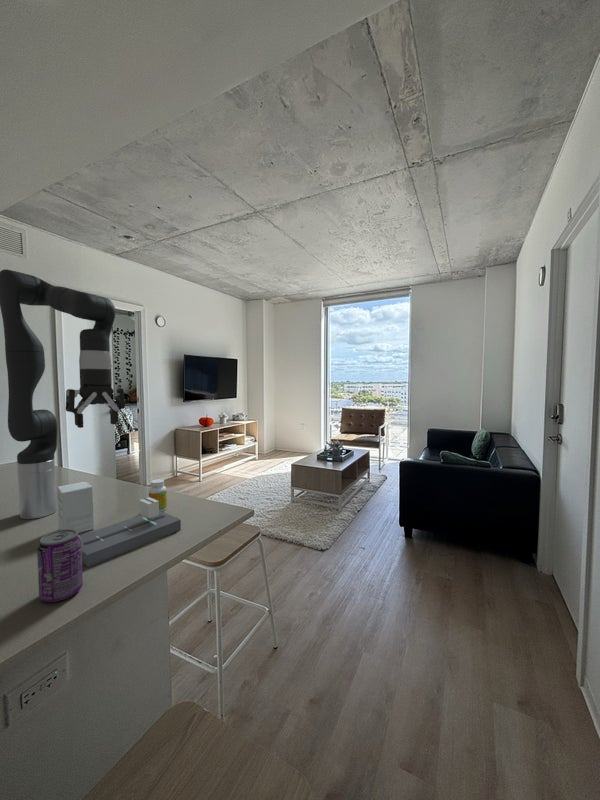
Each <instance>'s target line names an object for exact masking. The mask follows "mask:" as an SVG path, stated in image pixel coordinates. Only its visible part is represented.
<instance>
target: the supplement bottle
mask: <svg viewBox="0 0 600 800" xmlns="http://www.w3.org/2000/svg"><path fill="white" fill-rule="evenodd" d="M148 497H150V498H153V499H155V500H158V501H159V510H160V511H162V512H165V510H167V508H168V507H167V506H168V505H167V504H168V503H167V502H168V501H167V498H168V497H167V487H166V486H165V480H164V479H159V478H158V479H153V480H151V481H150V487H149V489H148Z"/></svg>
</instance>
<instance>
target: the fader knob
mask: <svg viewBox="0 0 600 800" xmlns="http://www.w3.org/2000/svg"><path fill="white" fill-rule="evenodd" d="M138 501H139V502H138V503H139V505H138V507H139V515H143V516H145V517H147V520H151V518H152V517H154V516H157V515H159V501H158V500H155V499H153V498H150V497H149V496H148V497H144V498H143V499H142V498H141V499H139V500H138Z"/></svg>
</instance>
